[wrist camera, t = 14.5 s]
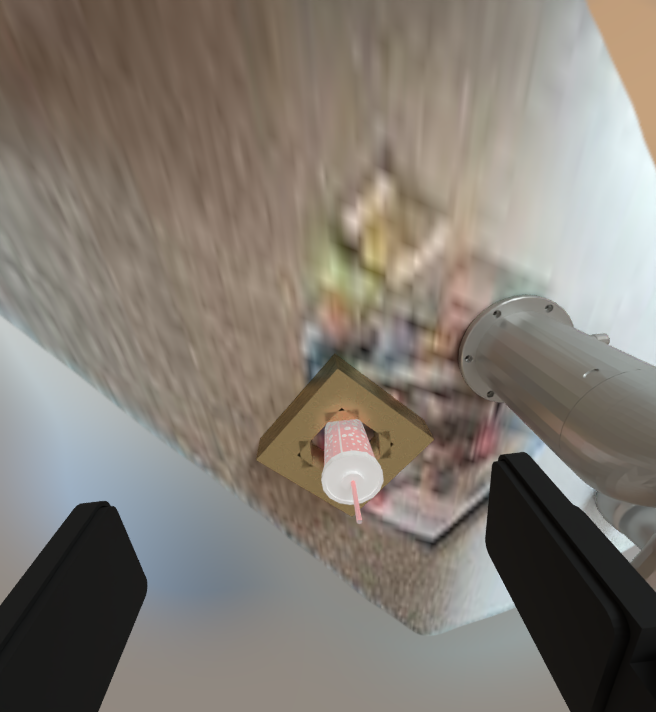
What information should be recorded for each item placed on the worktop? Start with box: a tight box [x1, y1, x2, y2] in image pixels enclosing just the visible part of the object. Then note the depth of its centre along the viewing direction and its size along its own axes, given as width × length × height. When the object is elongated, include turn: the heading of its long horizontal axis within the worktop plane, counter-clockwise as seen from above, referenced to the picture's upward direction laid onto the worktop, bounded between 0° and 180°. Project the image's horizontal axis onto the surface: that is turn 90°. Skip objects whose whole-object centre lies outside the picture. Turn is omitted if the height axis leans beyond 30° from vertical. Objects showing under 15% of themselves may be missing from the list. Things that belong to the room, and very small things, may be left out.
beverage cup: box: [321, 419, 384, 524], centre depth 38 cm, size 6×6×14 cm
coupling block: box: [256, 354, 434, 516], centre depth 42 cm, size 14×14×4 cm
